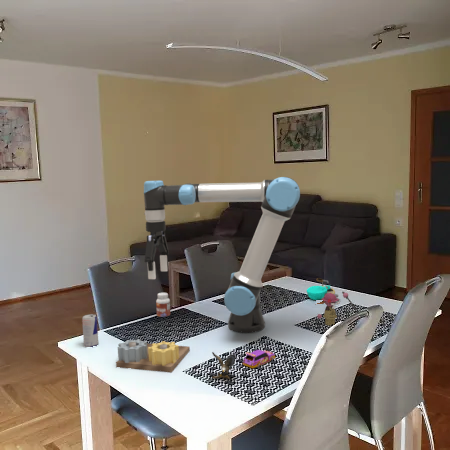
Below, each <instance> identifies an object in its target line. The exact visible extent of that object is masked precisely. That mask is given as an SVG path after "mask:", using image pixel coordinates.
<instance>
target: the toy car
mask: <svg viewBox="0 0 450 450" xmlns="http://www.w3.org/2000/svg"><path fill="white" fill-rule="evenodd" d="M244 354H245V355H246V356H245V357H244V359H243V362H242V365H243V366H244V367H245V366H246V367H248V368H249V369H255V368H260V367H261V366H263V365H265V364H267V363H269V362H271V361H273V360H275V359H276V355H275V353H274V352H272V351H268V350H261V349H256V350H253V351H250V352H249V351H247V352H245V353H244Z"/></svg>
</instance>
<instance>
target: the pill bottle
mask: <svg viewBox="0 0 450 450" xmlns="http://www.w3.org/2000/svg"><path fill="white" fill-rule="evenodd" d="M155 302H156V303H155V304H156V308H155V309H156V316H157V317H160V318H163V317H165V318H166V317H168V316H170V315H171V299H170V298H169V294H168V293H167V292H159V293H157V299H156V300H155Z"/></svg>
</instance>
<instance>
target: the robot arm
mask: <svg viewBox="0 0 450 450" xmlns="http://www.w3.org/2000/svg"><path fill="white" fill-rule="evenodd" d="M300 197H301V189H300V186H299V184H298V182H297V181H296V180H294V178H290V177H288V176H281V177H280V176H278V177H277V178H272V179H263V180H262V181H260V182H224V183H223V182H221V183H220V182H218V183H217V182H215V183H190V182H189V183H185V184H174V185H173V184H171V185H165V184H164V181H163V180H146V181H144V182H143V200H144V212H143V213H144V214H143V215H144V216H145V221H146V222H145V230H146V232H147V233H148V232H149V234H150V235H146V245H145V253H144V255H145V256H144V263H147V264H146V265H147V279H148V280H156V278H157V275H156V262H155V256H156V253H157V248H158V250H159V253H160V255H159V264H160V266H159V267H160V272H168V255H170V252H169V251H170V250H169V246H168V242H167V238H166V230H167V228H166V221H165V220H166V210H165V209H166V208H165V207H166V206H179V205H180V206H181V205H182V206H188V205H194V204H195V203H237V202H239V203H242V202H243V203H245V202H246V203H247V202H249V203H251V202H254V203H257V202H258V203H259V202H261V206H260V208H261V211H262V215H261V217H260V219H259V221H258V224H257V227H256V229H255V232H254V234H253V237H252V239H251V242H250V243H249V246H248V249H247V252H246V254H245V257H244V259H243V262H242V264H241V267H240V269H239V271H237V272H236V271H235V272H232V273H231V274H230V284H229V285H228V288H227V290H226V291H225V293H224V297H223V299H224V300H223V301H224V306H225V307H226V309H227V310H228V311H229V312H230V315H229V317H228V322H227V325H228V328H227V329H228V330H230V331H232V332H234V333H238V334H241V333H242V334H252V333H257V332H260V331H262V330H264V329H265V327H266V325H265V324H266V323H265V318H264V316H263V312H262V310H261V291H262V288H263V286H264V285H263V282H262V277H263V275H264V272H265V270H266V268H267V266H268V263H269V261H270V258H271V255H272V253H273V250H274V248H275V246H276V244H277V241H278V239H279V236H280V234H281V231H282V228H283V226H284V224H285V222H286V221H288V220H290V219H291V218H292V215H293V213H294V211H295V209H296V205H297V204H298V202H299V201H300Z"/></svg>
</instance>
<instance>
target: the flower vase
mask: <svg viewBox="0 0 450 450" xmlns="http://www.w3.org/2000/svg"><path fill="white" fill-rule="evenodd" d="M341 292H342V297H343V298H344V299H346V300H348V302H349V303H350V305H351V306H352V307H353V308H354V309H357V307H356V305H354V303H353V302H352V301H351V300H350V299H349V294H348V292H344V291H341ZM333 293H334V292H333ZM333 293H327V294H326V295H325V296H324V298H322V300H323V301H324V302H325V304H324V305H326V307H325V308H324V314H323V315H322V314H321V313H318V314H317V315H316V317H317V318H318V319H322V318H324V319H325V323H324V324H325V325H326V326H333V325H335V324H336V323H335V322H336V321H335V320H336V319H337V318H338V316H337V315H336V314H337V313H336V310H335V308H336V305H339V304H340V303H341V299H340V298H338V297H336V296H335V295H334V294H333ZM332 324H333V325H332Z"/></svg>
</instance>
